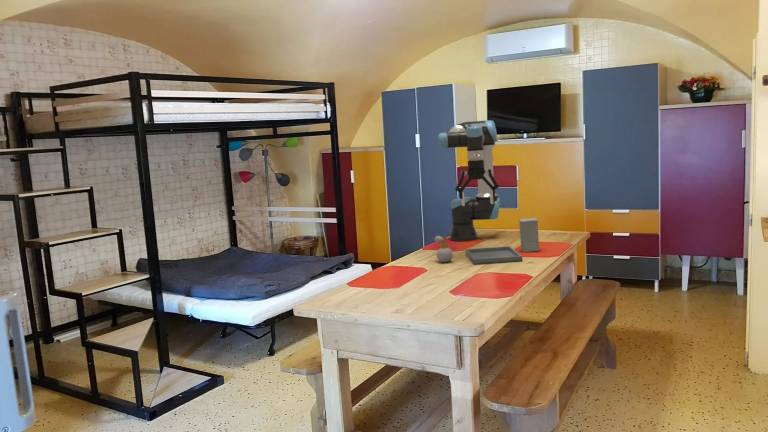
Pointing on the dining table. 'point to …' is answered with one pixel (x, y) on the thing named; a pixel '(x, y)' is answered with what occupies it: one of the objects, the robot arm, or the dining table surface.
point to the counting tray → (493, 255)
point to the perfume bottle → (443, 250)
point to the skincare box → (529, 234)
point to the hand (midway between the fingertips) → (477, 204)
